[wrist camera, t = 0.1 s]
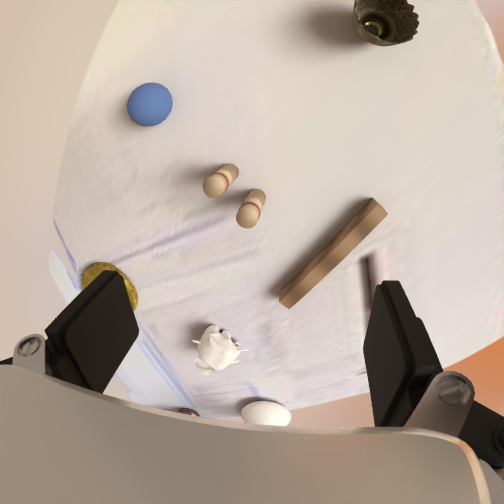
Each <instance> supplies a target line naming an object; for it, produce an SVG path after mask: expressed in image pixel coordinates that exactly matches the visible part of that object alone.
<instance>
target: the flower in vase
mask: <svg viewBox="0 0 504 504" xmlns="http://www.w3.org/2000/svg"><path fill="white" fill-rule="evenodd" d="M241 415H242V418H243V420H244V421H245V422H246V423H251V424H262V425H274V426H286V425H287V424H288V423H289V421H290V420H291V414H290V412H289V411H288V409H287V408H285V407H284V406H282V405H280V404H278V403H274V402H269V401H257V402H252V403H250V404H248V405H246V406H245V407H244V408H243V409H242V411H241Z"/></svg>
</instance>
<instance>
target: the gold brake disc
mask: <svg viewBox="0 0 504 504" xmlns="http://www.w3.org/2000/svg"><path fill="white" fill-rule="evenodd" d="M104 270H115V271H118V272H119V273H120V275H122V276H123V278H124V282H125V285H126V289H127V292H128V296H129V299H130V303H131V306H132V309H133V312H134V310H135V308H136V305H137V303H138V295H137V291H136V288H135V286H133V285H132V284H131V282H130V281H129V279H128V278H127V277H126V276H125V275H124V274H123V273H122V272H121V271H120V270H118V269H117V268H115V265H112V264H110V263H106V262H99V263H97V264H94V265H92V266H91V267H90V268H88V269H87V270H86V271H85V273H84V274H83V277H82V288H83V290H84V289H85V288H86V287H87V286H88V285H89V284H90V283H91V282H92V281H93V280H94V279H95V278H96V277H97V276H98V275H99V274H100V273H101V272H102V271H104Z"/></svg>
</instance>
